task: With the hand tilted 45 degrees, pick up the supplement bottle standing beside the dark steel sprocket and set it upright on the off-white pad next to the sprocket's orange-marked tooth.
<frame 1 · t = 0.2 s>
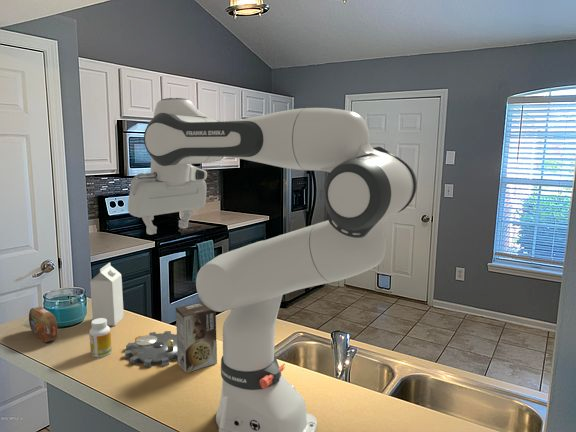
hand: (167, 230, 101), 39 cm above the countertop, tool pointing down, fingers open, 8 cm apart
milk carton: (108, 321, 142), on the countertop
sprocket: (158, 350, 124), on the countertop
tin: (44, 337, 131), on the countertop
supplement bottle: (101, 353, 122), on the countertop
coffee box: (197, 364, 118), on the countertop
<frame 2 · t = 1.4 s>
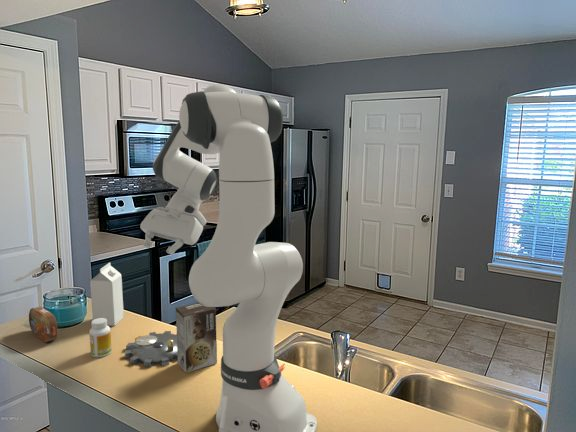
hand: (157, 250, 126), 28 cm above the countertop, tool tilted 45°, fingers open, 8 cm apart
nothing on the countertop moved.
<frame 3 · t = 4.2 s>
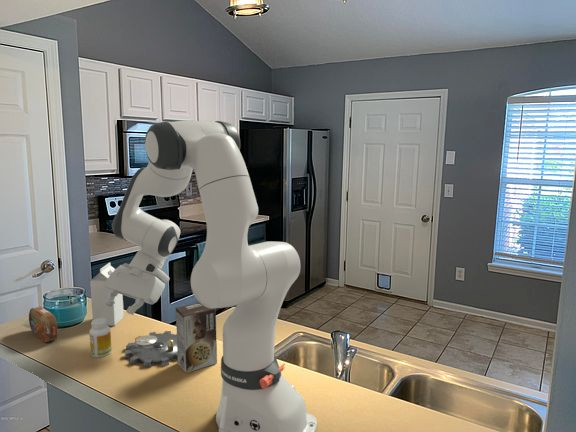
hand: (118, 309, 125), 11 cm above the countertop, tool tilted 45°, fingers open, 8 cm apart
nothing on the countertop moved.
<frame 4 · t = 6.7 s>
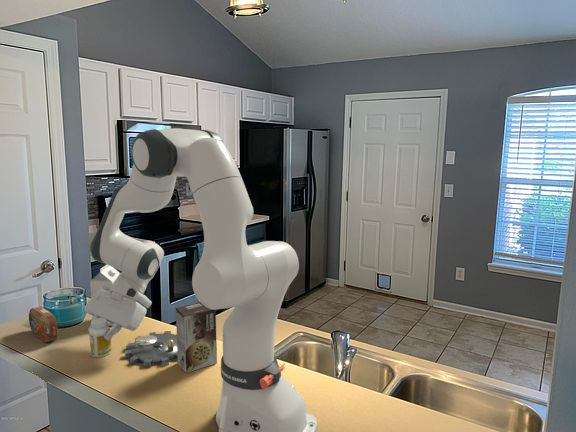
hand: (98, 336, 121), 5 cm above the countertop, tool tilted 45°, fingers closed on supplement bottle, 5 cm apart
supplement bottle: (101, 353, 122), on the countertop, touching gripper
everything else where it was.
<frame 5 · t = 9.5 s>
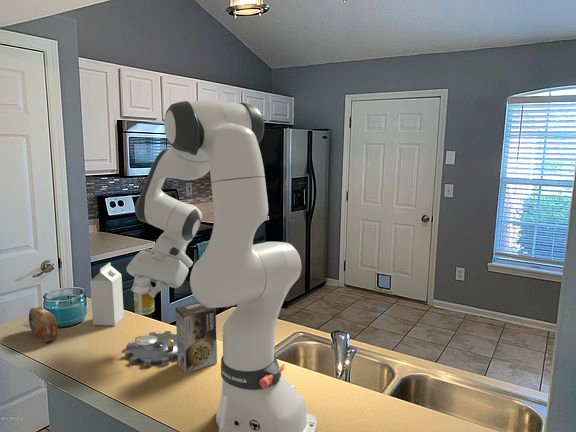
hand: (142, 293, 123), 16 cm above the countertop, tool tilted 45°, fingers closed on supplement bottle, 5 cm apart
supplement bottle: (144, 312, 125), point 10 cm above the countertop, touching gripper
everything else where it was.
when the fingers open (8 cm above the countertop, at t = 12.2 s): supplement bottle drops 1 cm, resting on sprocket.
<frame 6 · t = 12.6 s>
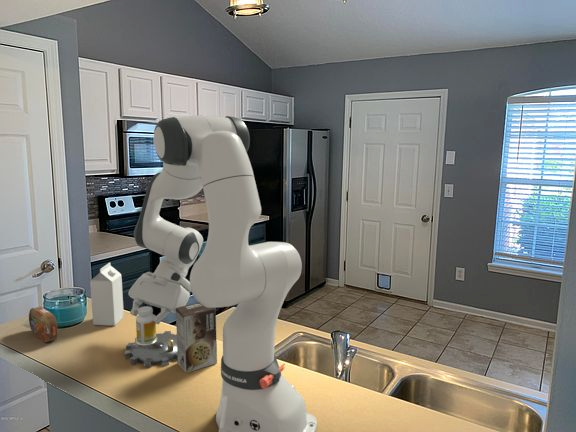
hand: (143, 318, 125), 9 cm above the countertop, tool tilted 45°, fingers open, 8 cm apart
supplement bottle: (146, 340, 127), point 2 cm above the countertop, touching sprocket
everything else where it was.
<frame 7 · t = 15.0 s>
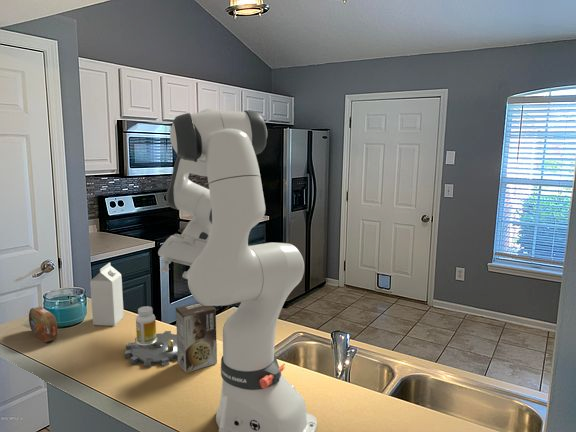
hand: (173, 275, 133), 18 cm above the countertop, tool tilted 45°, fingers open, 8 cm apart
nothing on the countertop moved.
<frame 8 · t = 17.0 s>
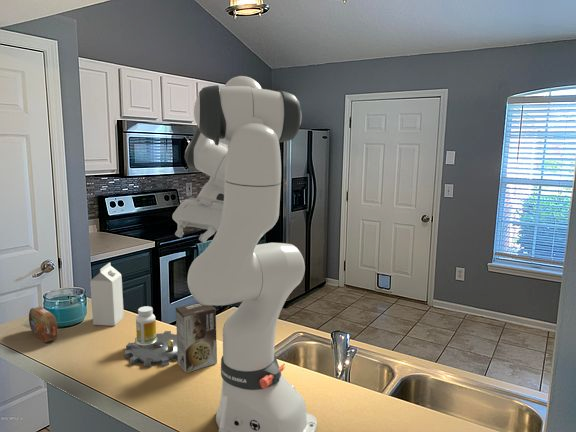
hand: (189, 238, 125), 31 cm above the countertop, tool tilted 45°, fingers open, 8 cm apart
nothing on the countertop moved.
at the end: supplement bottle 0.1 cm from the target spot on the sprocket, point 1.5 cm above the sprocket's base; supplement bottle tilted 0°; the gripper is holding nothing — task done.
